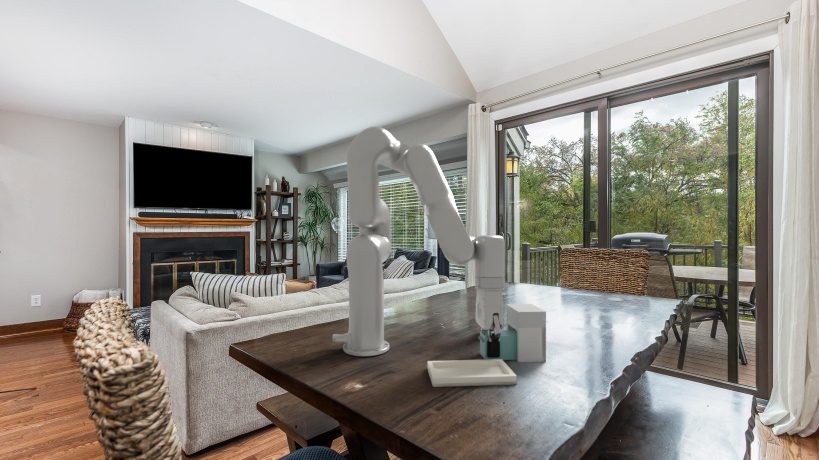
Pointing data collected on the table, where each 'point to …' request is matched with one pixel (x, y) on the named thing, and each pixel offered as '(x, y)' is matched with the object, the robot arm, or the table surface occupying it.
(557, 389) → the table surface
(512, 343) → the mint rectangular box
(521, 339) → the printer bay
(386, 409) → the table surface
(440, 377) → the tray
